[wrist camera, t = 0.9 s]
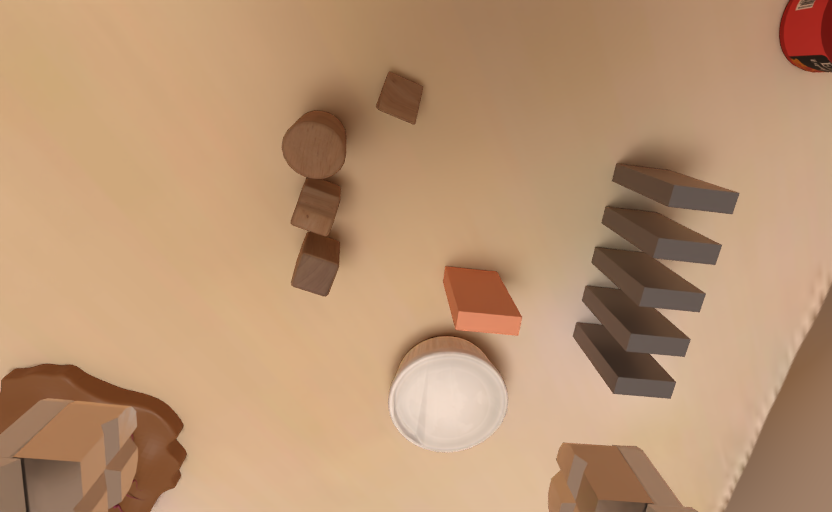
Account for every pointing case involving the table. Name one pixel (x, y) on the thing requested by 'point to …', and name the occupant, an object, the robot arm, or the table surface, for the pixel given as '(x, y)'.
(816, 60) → the canned food
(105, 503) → the robot arm
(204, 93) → the table surface
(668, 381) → the tile
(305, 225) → the wooden block set
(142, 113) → the table surface
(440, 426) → the ramekin
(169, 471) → the plant
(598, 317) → the tile
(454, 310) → the tile
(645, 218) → the tile
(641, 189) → the tile
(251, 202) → the table surface
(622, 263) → the tile
